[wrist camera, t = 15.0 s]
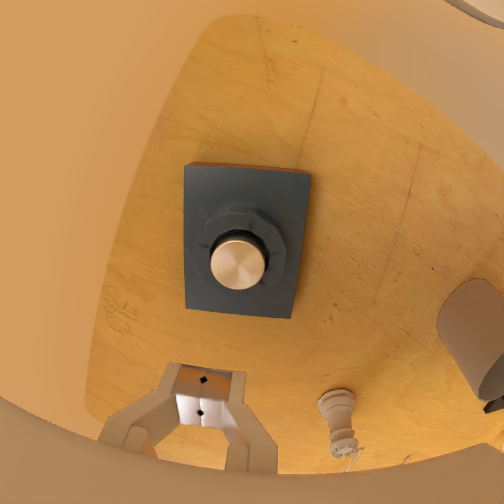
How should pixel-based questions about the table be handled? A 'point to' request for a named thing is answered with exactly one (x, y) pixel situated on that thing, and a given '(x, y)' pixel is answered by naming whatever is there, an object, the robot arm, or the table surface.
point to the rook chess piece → (339, 421)
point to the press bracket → (494, 405)
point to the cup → (476, 336)
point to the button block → (248, 221)
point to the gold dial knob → (238, 260)
